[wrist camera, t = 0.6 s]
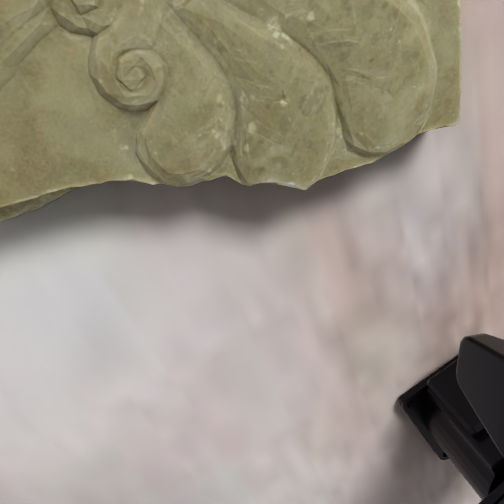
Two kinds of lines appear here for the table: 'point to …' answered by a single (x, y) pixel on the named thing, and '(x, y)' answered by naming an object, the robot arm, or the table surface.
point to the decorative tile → (215, 90)
